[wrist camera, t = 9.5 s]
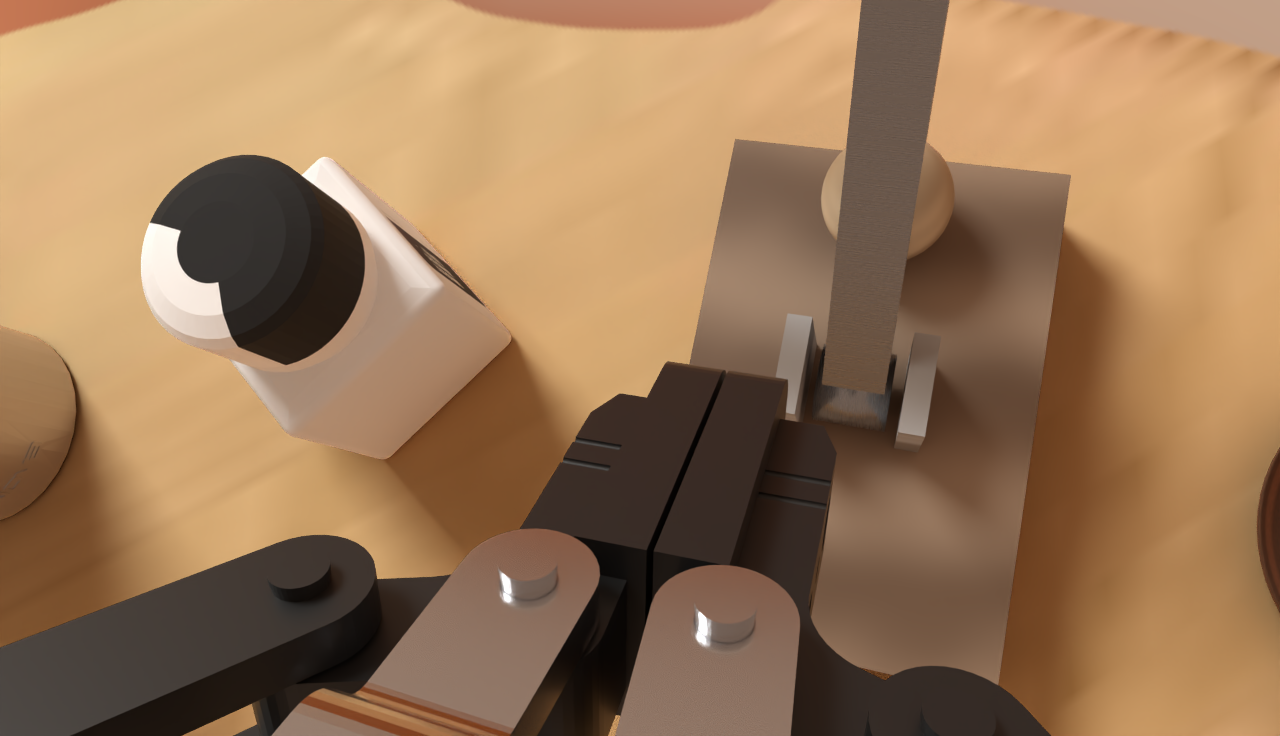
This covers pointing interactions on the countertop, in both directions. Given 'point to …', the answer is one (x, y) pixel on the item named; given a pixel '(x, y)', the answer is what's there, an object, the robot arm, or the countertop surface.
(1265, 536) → the cup and saucer
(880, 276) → the lever
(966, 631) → the bench block
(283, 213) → the container
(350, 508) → the countertop surface
